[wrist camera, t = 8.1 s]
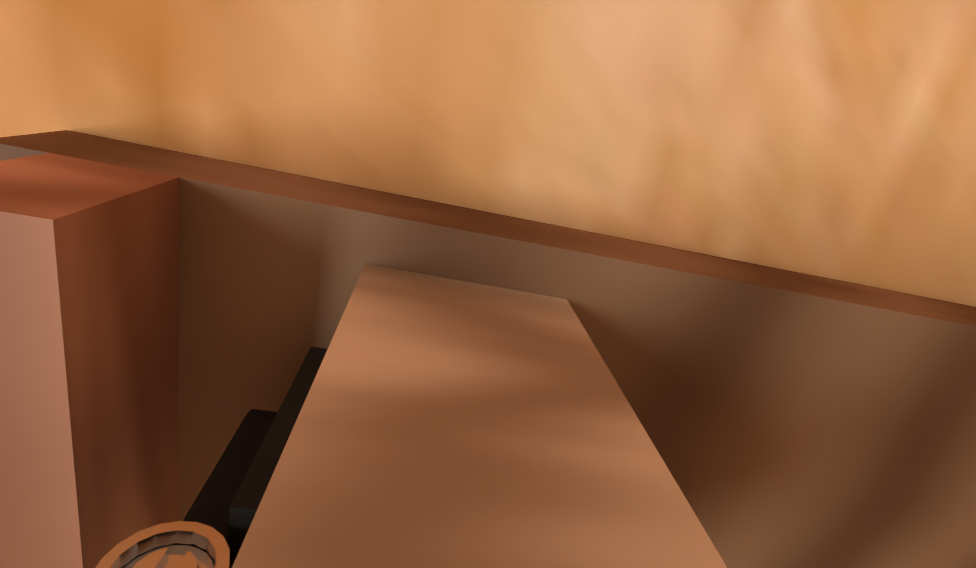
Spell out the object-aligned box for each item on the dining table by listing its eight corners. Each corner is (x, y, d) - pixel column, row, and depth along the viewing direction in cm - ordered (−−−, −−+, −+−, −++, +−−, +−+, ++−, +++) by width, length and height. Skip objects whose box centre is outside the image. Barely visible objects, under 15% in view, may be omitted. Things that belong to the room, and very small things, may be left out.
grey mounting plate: (1144, 340, 14) (1481, 460, 10) (930, 626, 18) (1095, 807, 14) (66, 130, 10) (-263, 166, 5) (97, 567, 14) (-73, 805, 9)
